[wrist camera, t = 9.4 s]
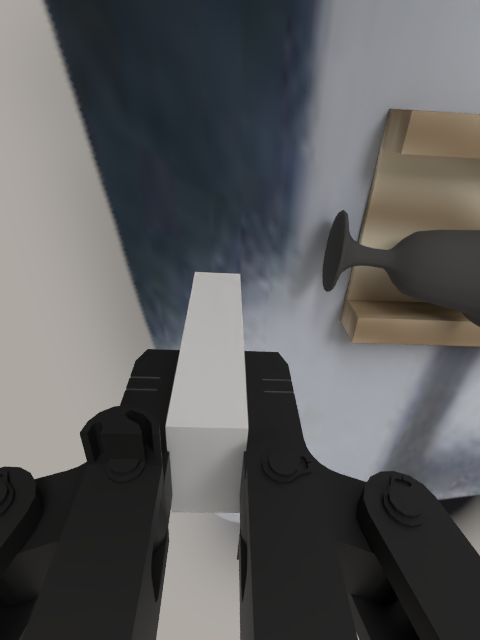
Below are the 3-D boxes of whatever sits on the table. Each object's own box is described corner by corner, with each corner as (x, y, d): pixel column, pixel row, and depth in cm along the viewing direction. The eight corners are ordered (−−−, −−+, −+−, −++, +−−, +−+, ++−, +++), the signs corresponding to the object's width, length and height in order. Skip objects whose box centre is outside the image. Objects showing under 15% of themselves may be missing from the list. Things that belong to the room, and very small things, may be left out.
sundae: (314, 300, 26) (522, 331, 26) (334, 309, 19) (615, 352, 19) (330, 206, 25) (546, 237, 25) (358, 183, 19) (652, 225, 18)
